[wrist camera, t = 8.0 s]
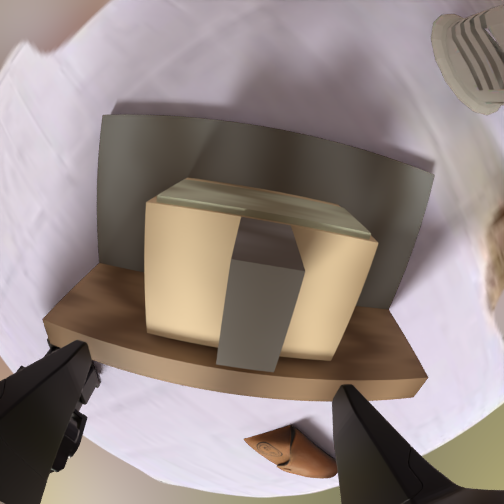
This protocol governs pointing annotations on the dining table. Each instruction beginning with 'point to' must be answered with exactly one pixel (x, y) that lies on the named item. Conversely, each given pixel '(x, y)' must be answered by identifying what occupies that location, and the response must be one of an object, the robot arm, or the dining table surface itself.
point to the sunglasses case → (294, 453)
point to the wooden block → (252, 271)
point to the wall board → (257, 176)
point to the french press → (472, 57)
